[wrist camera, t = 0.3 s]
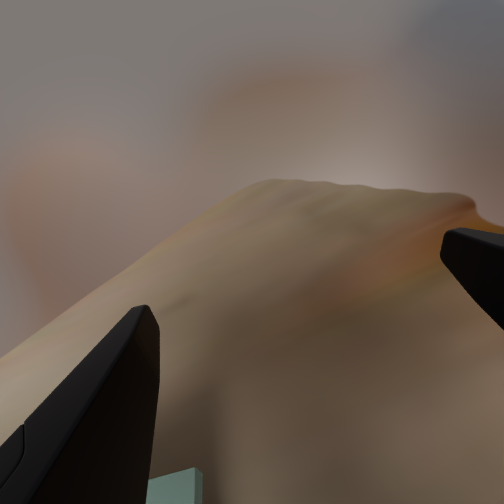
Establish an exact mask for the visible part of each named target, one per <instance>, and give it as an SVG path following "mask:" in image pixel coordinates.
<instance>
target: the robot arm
mask: <svg viewBox="0 0 504 504" xmlns="http://www.w3.org/2000/svg"><path fill="white" fill-rule="evenodd" d="M440 258H441V260H442V262H443V263H444V264H445V266H446V267H447V268H448V269H449V271H450V272H451V273H452V274H453V275H454V277H455V278H456V279H457V280H458V282H459V283H460V284H461V285H462V286H463V288H464V289H465V290H466V291H467V293H468V294H469V295H470V296H471V297H472V298H473V300H474V301H475V302H476V303H477V304H478V305H479V306H480V307H481V308H482V309H483V310H484V311H485V312H486V313H487V314H488V315H489V316H490V317H491V318H492V319H493V320H494V321H495V322H496V323H497V324H498V325H499V326H500V327H501V328H502V329H503V330H504V235H503V234H497V233H491V232H485V231H480V230H474V229H468V228H456V229H452V230H448V231H447V232H446V233H445V234H444V237H443V242H442V246H441V251H440ZM159 383H160V330H159V325H158V323H157V321H156V319H155V317H154V315H153V313H152V311H151V309H150V307H149V306H148V305H141V306H136V307H133V308H131V309H130V310H129V311H128V312H127V314H126V315H125V316H124V317H123V318H122V319H121V320H120V321H119V322H118V323H117V324H116V325H115V326H114V327H113V328H112V329H111V330H110V331H109V333H108V334H107V335H106V336H105V337H104V338H103V339H102V340H101V341H100V342H99V343H98V344H97V345H96V346H95V347H94V348H93V349H92V350H91V352H90V353H89V354H88V355H87V356H86V357H85V358H84V359H83V360H82V361H81V362H80V363H79V364H78V365H77V366H76V367H75V368H74V369H73V371H72V372H71V373H70V374H69V375H68V376H67V377H66V378H65V379H64V380H63V381H62V382H61V383H60V384H59V385H58V386H57V387H56V388H55V389H54V391H53V392H52V393H51V394H50V395H49V396H48V397H47V398H46V399H45V400H44V401H43V402H42V403H41V404H40V405H39V406H38V407H37V408H36V410H35V411H34V412H33V413H32V414H31V415H30V416H29V417H28V418H27V419H26V420H25V421H24V424H22V425H20V426H19V427H18V428H17V429H16V431H15V432H14V433H13V434H12V435H11V436H10V437H9V438H8V439H7V440H6V441H5V442H4V443H3V444H2V445H1V446H0V504H146V498H147V489H148V480H149V472H150V463H151V454H152V445H153V437H154V428H155V419H156V411H157V402H158V393H159Z"/></svg>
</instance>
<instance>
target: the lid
mask: <svg viewBox="0 0 504 504" xmlns="http://www.w3.org/2000/svg"><path fill="white" fill-rule="evenodd" d="M202 488H203V473H202V472H201V471H200V470H198V469H197V468H195V467H194V468H190V469H186V470H183V471H179V472H175V473H172V474H168V475H164V476H161V477H157V478H153V479H150V480H148V489H147V498H146V504H202Z"/></svg>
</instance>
